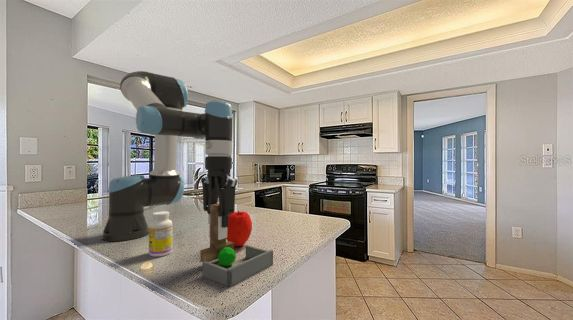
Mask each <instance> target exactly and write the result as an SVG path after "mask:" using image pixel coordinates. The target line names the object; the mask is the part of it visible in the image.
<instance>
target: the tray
mask: <svg viewBox="0 0 573 320" xmlns="http://www.w3.org/2000/svg"><path fill="white" fill-rule="evenodd" d="M245 258H246V259H247V260H245V261H242V262H240V263H237V264H236V265H235V264H234V265H233V266H231V267H228V268H226V267H224V266H221V265H218V264H215V263H212V262H207V261H204V262H202V277H204V278H207V279H209V280H212V281H214V282H217V284H218V283H219V284H221V285H222V286H223V285H224V286H226V287H228V288H231V287H233V286H235V285H237V284H238V283H240V282H242V281H245V280H246V279H248V278H250V277H252V276H254V275H255V274H258V273H260V272H261V271H263V270H265V269H267V268H269V267H271V266H273V265H274V250H273V249H269V250H267V249H264V248H259V247H257V246H256V247H255V246H252V245H249V244H247V245H245Z"/></svg>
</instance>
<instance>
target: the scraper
mask: <svg viewBox="0 0 573 320" xmlns="http://www.w3.org/2000/svg"><path fill="white" fill-rule="evenodd" d="M224 211H225V210H224ZM219 214H220V207H219V202H217V204H212V205H210V237H209V247H206V248H203V249H201V250H200V254H199V255H200V259H199V260H200V262H202V263H203V262H204V261H207V262H210V263H212V262H213V261H216V260H218V253H219V252H220V251H221V250H222V249H224V248H225V247H230V248H232V249H233V250H234V251H235V247H234V243H233V242H230V241H227V239H226V238H224V239H221V240H218V215H219Z"/></svg>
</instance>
